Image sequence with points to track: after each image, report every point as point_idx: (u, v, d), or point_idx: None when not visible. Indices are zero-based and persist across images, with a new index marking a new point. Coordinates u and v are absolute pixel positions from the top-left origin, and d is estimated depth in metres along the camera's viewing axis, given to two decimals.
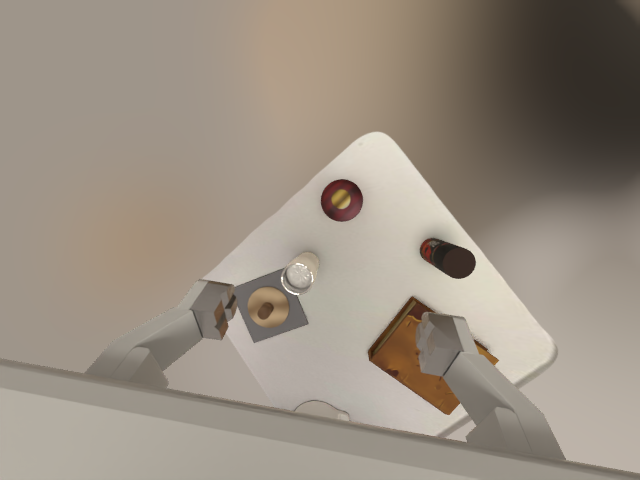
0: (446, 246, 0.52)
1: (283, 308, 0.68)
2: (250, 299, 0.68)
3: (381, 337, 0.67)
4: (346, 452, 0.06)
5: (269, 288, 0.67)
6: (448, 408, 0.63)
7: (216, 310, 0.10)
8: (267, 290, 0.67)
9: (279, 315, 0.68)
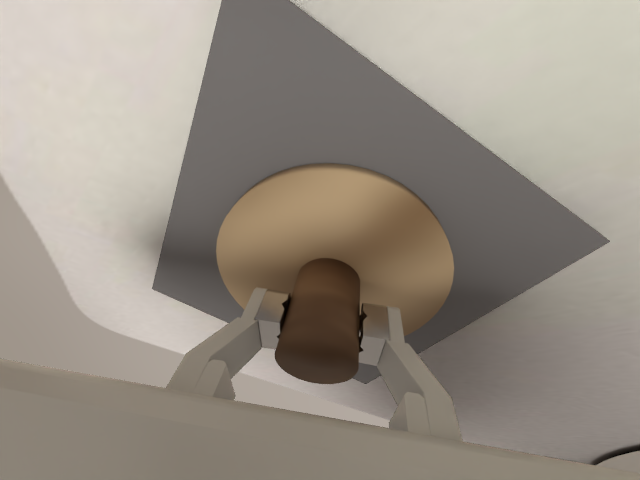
0: None
1: (408, 245, 0.11)
2: (235, 290, 0.14)
3: None
4: (345, 452, 0.06)
5: (257, 195, 0.10)
6: None
7: (280, 320, 0.10)
8: (258, 212, 0.11)
9: (407, 284, 0.12)
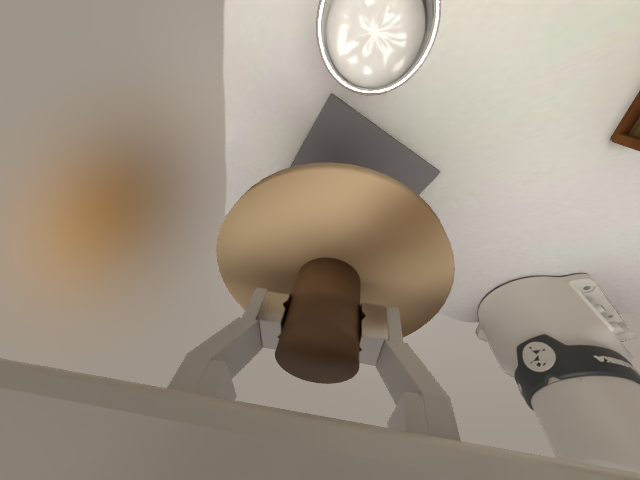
0: None
1: (409, 244, 0.11)
2: (235, 290, 0.14)
3: None
4: (345, 452, 0.06)
5: (258, 194, 0.10)
6: None
7: (281, 320, 0.10)
8: (259, 211, 0.11)
9: (407, 284, 0.12)
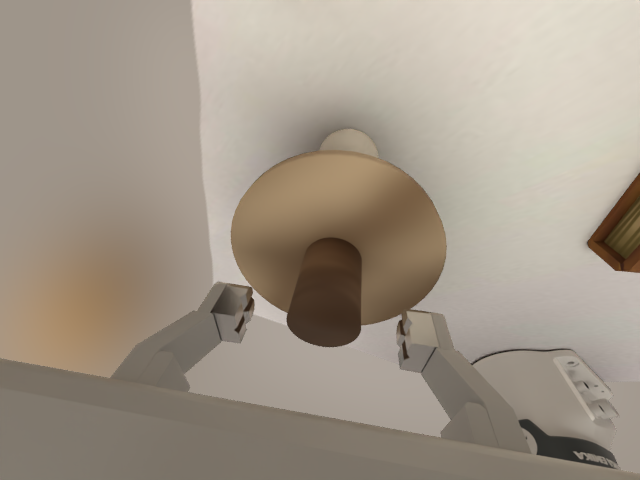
0: None
1: (405, 224, 0.12)
2: (246, 270, 0.15)
3: (627, 201, 0.25)
4: (346, 452, 0.06)
5: (270, 178, 0.11)
6: None
7: (236, 313, 0.10)
8: (270, 194, 0.12)
9: (404, 262, 0.13)
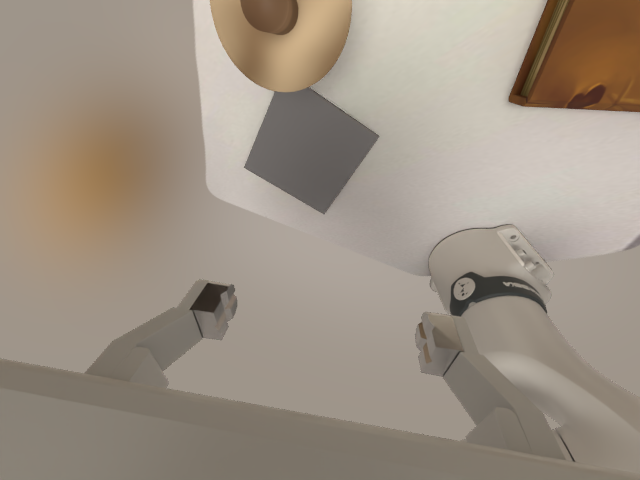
0: None
1: None
2: (221, 31, 0.21)
3: (532, 50, 0.31)
4: (345, 452, 0.06)
5: None
6: None
7: (216, 310, 0.10)
8: None
9: (326, 3, 0.19)
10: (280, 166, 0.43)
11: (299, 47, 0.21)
